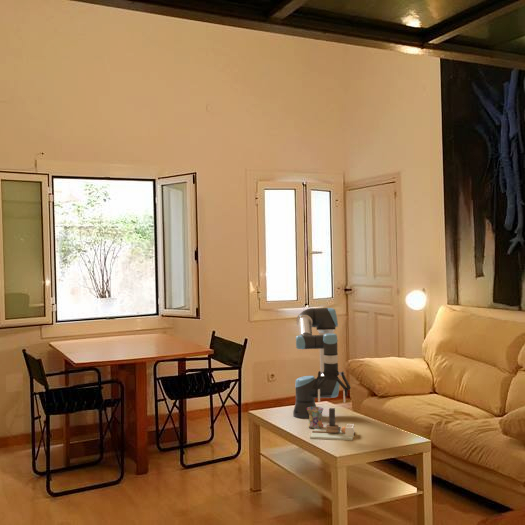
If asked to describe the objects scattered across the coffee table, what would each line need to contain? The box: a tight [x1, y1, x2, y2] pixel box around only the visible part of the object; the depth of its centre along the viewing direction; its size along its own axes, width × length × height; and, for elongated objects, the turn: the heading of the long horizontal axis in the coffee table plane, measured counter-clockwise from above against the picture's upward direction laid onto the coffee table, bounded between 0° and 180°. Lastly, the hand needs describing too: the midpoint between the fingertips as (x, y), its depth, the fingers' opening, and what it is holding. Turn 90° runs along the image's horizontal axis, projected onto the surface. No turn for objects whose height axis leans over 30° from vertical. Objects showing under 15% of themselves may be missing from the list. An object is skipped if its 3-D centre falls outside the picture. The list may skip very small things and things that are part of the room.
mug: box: [307, 406, 324, 429], centre depth 348 cm, size 12×9×11 cm
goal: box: [344, 423, 355, 437], centre depth 328 cm, size 8×4×4 cm, turn 167°
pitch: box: [309, 428, 356, 441], centre depth 329 cm, size 16×22×2 cm
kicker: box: [325, 407, 342, 433], centre depth 330 cm, size 5×7×12 cm
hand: (331, 402), depth 331 cm, fingers open, 13 cm apart
